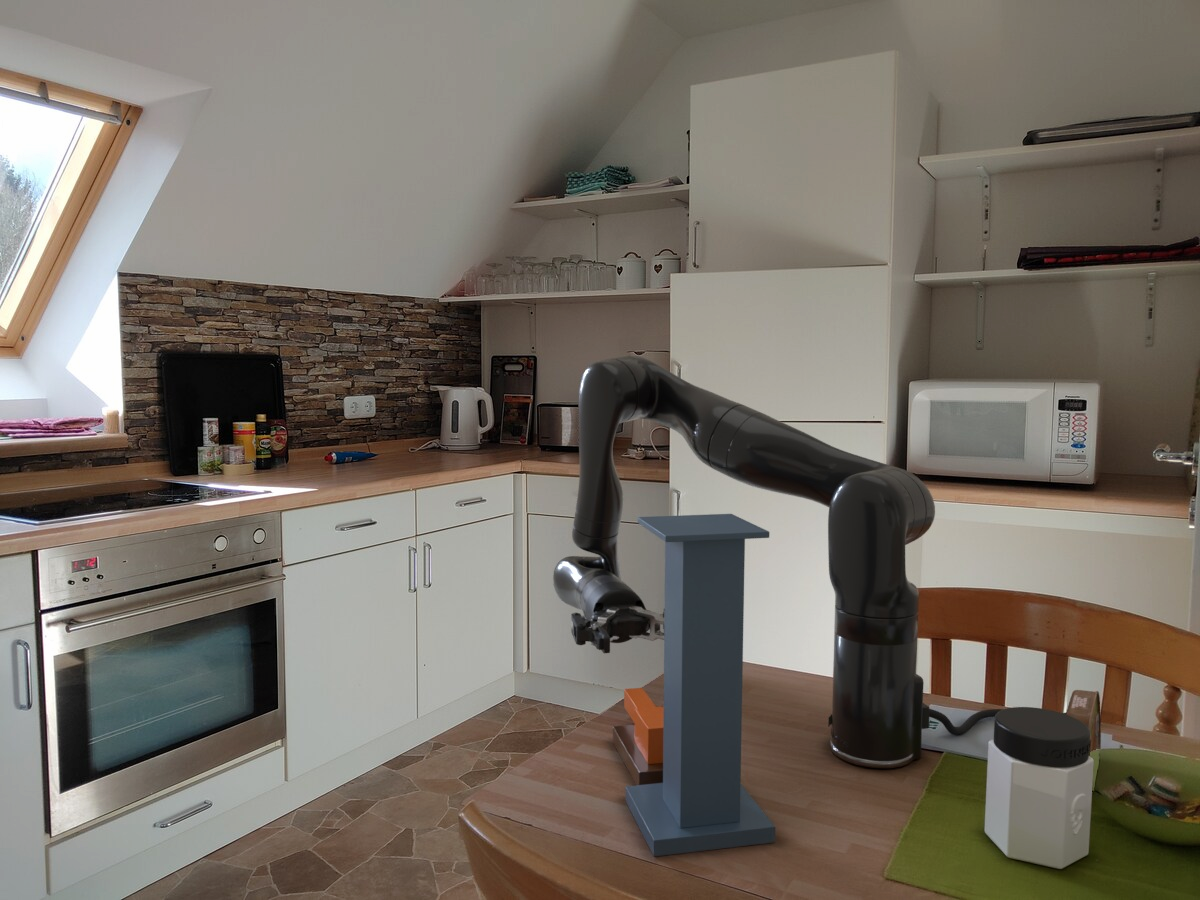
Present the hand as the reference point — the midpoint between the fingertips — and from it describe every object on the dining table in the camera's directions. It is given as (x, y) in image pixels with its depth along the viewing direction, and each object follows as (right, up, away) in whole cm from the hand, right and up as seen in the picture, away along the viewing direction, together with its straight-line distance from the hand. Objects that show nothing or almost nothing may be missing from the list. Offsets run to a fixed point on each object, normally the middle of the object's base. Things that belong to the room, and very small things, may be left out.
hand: (641, 643), depth 112 cm
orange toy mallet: (+1, -10, -3) cm, 10 cm away
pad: (+2, -12, -6) cm, 14 cm away
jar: (+36, -14, -24) cm, 46 cm away
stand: (+5, -14, -20) cm, 24 cm away
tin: (+48, -13, -9) cm, 51 cm away
